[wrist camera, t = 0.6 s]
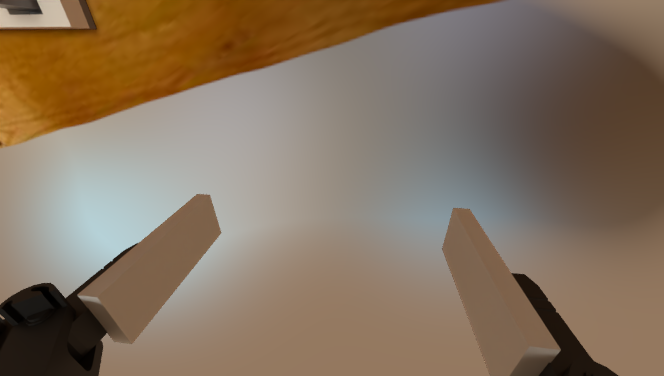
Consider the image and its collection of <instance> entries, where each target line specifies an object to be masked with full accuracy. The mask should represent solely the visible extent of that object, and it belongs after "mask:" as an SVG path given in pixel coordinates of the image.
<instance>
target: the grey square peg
mask: <svg viewBox="0 0 664 376" xmlns="http://www.w3.org/2000/svg"><path fill="white" fill-rule="evenodd" d="M0 8H5V9H13V10H21V11H29V12H42V11H41V8H40V6H39V4H38V2H37V0H0Z"/></svg>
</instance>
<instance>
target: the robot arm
mask: <svg viewBox="0 0 664 376" xmlns="http://www.w3.org/2000/svg"><path fill="white" fill-rule="evenodd" d="M220 234H221V231H220V227H219V224H218V221H217V217H216V214H215V211H214V207H213V204H212V201H211V198H210V195H204V194H197V195H196V196H194V197H193V198H192V199H191V200H190V201H188V202H187V203H186V204H185V205H184V206H182V207H181V208H180V209H179V210H178V211H177V212H175V213H174V214H173V215H172V216H171V217H169V218H168V219H167V220H166V221H165V222H163V224H161V225H160V226H159V227H158V228H156V229H155V230H154V231H153V232H151V233H150V234H149V235H148V236H147V237H145V238H144V239H143V240H142V241H141V242H140V243H137V244H135V245H133V246H132V247H130V248H128V249H126V250H124V251H123V252H122V253H120V254H119V255H118V256H117V257H115V258H114V259H113V261H112V262H109V263H108V264H107V265H106V266H104V269H101V270H100V271H98V272H97V273H96V274H95V275H93V276H92V277H91V278H90V279H89V280H87V281H86V282H85V283H84V284H83V285H81V286H80V287H79V288H78V289H76V290H75V291H74V292H73V293H72V294H70V295H69V296H68V297H67V298H65V297H64V296H63V295H62V294H61V293H60V292H59V290H58V289H57V288H56V287H55V286H54V285H53V284H51V283H41V284H37V285H33V286H31V287H28V288H26V289H23V290H21V291H20V292H18V293H16V294H14V295H13V296H11V297H10V298H8V299H7V300H5V301H4V302H3V303H2V304H1V305H0V314H1V315H2V316H3V317H4V318H5V319H4V320H3V319H2V318H0V376H98V375H99V369H100V363H101V356H102V350H103V343H102V341H101V339H102V338H103V337H104V336H105V334H106V333H108V334H109V336H110V337H111V338H112V340H113V341H114V342H121V343H127V344H132V343H133V342H134V341H135V339H136V338H137V337H138V336H139V335H140V333H141V332H142V331H143V330H144V328H145V327H146V326H147V325H148V323H149V322H150V321H151V320H152V319H153V317H154V316H155V314H157V312H158V311H159V310H160V309H161V307H162V306H163V305H164V304H165V302H166V301H167V300H168V299H169V297H170V296H171V295H172V294H173V292H174V291H175V290H176V289H177V287H178V286H179V285H180V283H181V282H182V281H183V280H184V279H185V277H186V276H187V275H188V274H189V272H190V271H191V270H192V269H193V268H194V266H195V265H196V264H197V262H198V261H199V260H200V259H201V258H202V256H203V255H204V254H205V253H206V251H207V250H208V249H209V248H210V246H211V245H212V244H213V242H214V241H215V240H216V239H217V238H218V236H219V235H220ZM442 250H443V253H444V255H445V258H446V261H447V263H448V266H449V269H450V271H451V274H452V277H453V279H454V282H455V285H456V287H457V290H458V292H459V295H460V298H461V300H462V303H463V306H464V308H465V311H466V314H467V316H468V319H469V321H470V324H471V327H472V329H473V332H474V335H475V337H476V340H477V342H478V345H479V348H480V350H481V353H482V356H483V358H484V361H485V364H486V366H487V369H488V371H489V374H490V376H618V375H617V374H615V373H614V372H612V371H611V370H610V369H608V368H607V367H605V366H603V365H601V364H598V363H596V362H594V361H593V360H592V358H591V357H590V356H589V355H588V353H587V352H586V350H585V349H584V348H583V346H582V345H581V344H580V342H579V341H578V340H577V338H576V337H575V335H574V334H573V333H572V331H571V330H570V329H569V327H568V326H567V324H566V323H565V322H564V320H563V319H562V318H561V316H560V315H559V313H556V309H555V308H554V307H553V305H552V304H551V303H550V302H549V301H548V298H547V297H546V296H545V294H544V293H543V292H542V290H541V289H540V287H539V286H538V285H537V284H535V283H534V282H533V281H532V280H531V279H529V278H528V277H527V276H526V275H524V274H513V273H511V272H510V271H509V269H508V267H507V266H506V265H505V263H504V261H503V260H502V258H501V257H500V255H499V254H498V252H497V251H496V249H495V247H494V246H493V245H492V243H491V241H490V240H489V238H488V237H487V235H486V234H485V232H484V231H483V229H482V228H481V226H480V224H479V223H478V221H477V220H476V218H475V217H474V215H473V214H472V212H471V211H470V209H462V208H453V211H452V215H451V218H450V222H449V226H448V230H447V233H446V237H445V240H444V244H443V248H442Z"/></svg>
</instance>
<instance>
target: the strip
mask: <svg viewBox="0 0 664 376" xmlns="http://www.w3.org/2000/svg"><path fill="white" fill-rule="evenodd" d="M37 2H38V4H39V6H40V8H41V11H42V12H29V11H21V10H13V9H5V8H0V30H35V29H96V26H95V24H94V21H93V19H92V16H91V14H90V11H89V8H88V6H87V3H86V1H85V0H37Z"/></svg>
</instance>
